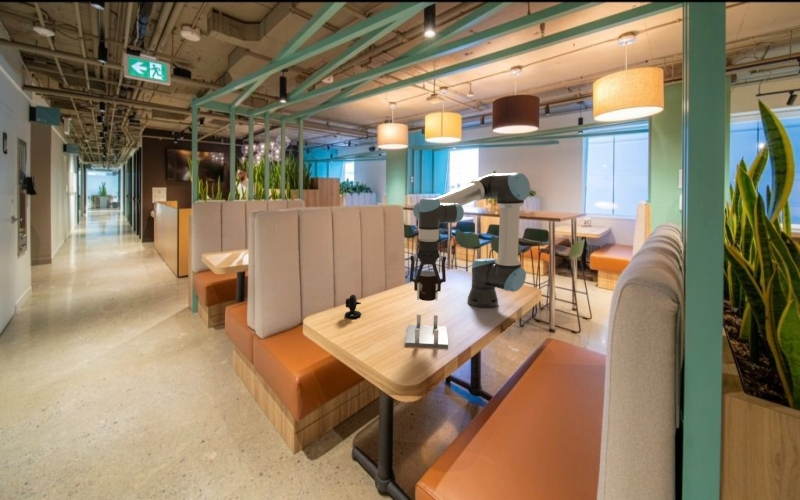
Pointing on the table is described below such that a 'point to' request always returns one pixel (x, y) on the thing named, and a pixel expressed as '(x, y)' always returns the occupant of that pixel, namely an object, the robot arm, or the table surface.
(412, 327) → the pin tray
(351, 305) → the webcam
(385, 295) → the table surface
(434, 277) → the coffee mug
